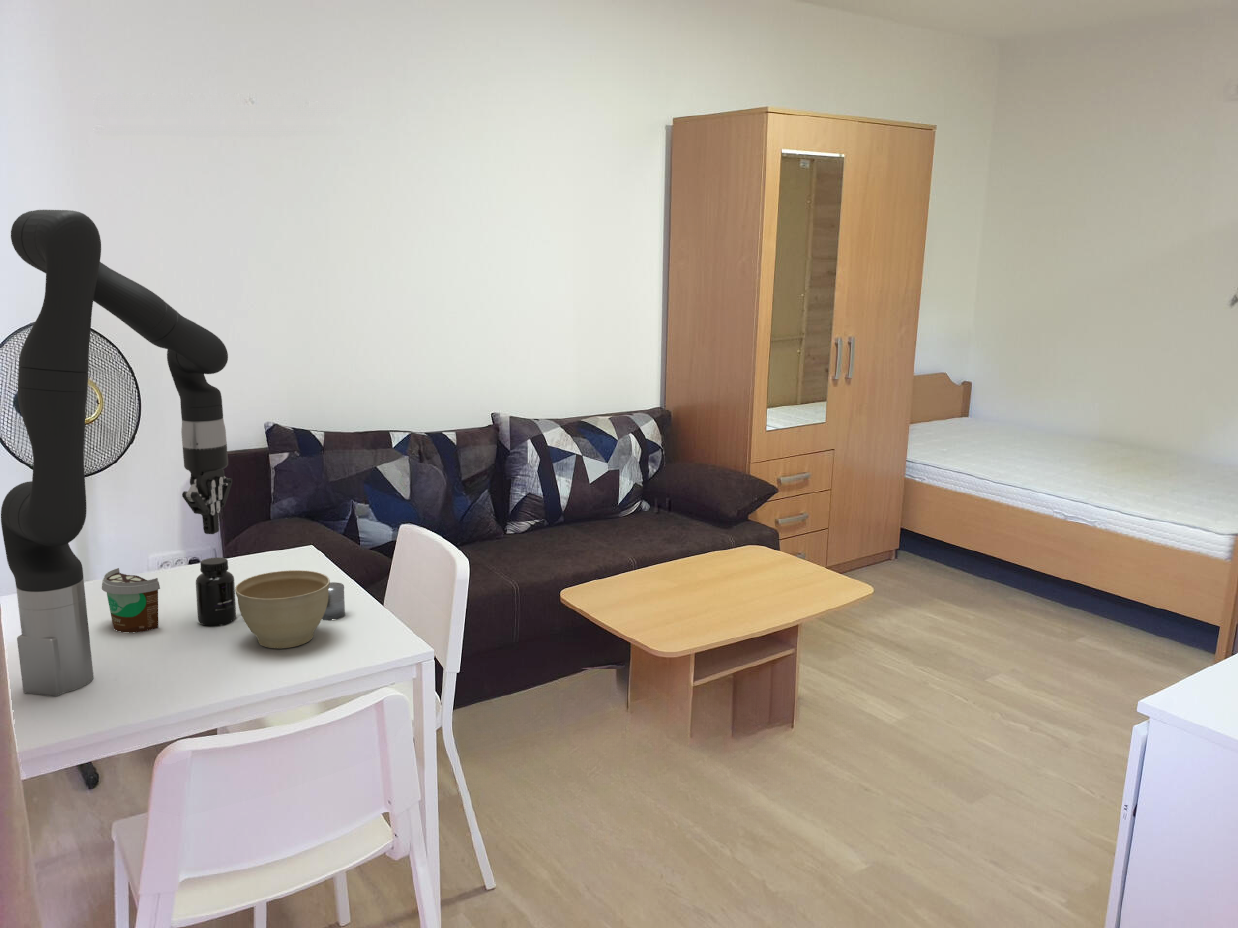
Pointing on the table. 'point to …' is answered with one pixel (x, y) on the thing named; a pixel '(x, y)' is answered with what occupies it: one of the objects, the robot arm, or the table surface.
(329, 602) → the dark grey metal cylinder
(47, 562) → the robot arm
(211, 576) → the supplement bottle
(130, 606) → the food container
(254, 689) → the table surface
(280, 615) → the planter bowl
